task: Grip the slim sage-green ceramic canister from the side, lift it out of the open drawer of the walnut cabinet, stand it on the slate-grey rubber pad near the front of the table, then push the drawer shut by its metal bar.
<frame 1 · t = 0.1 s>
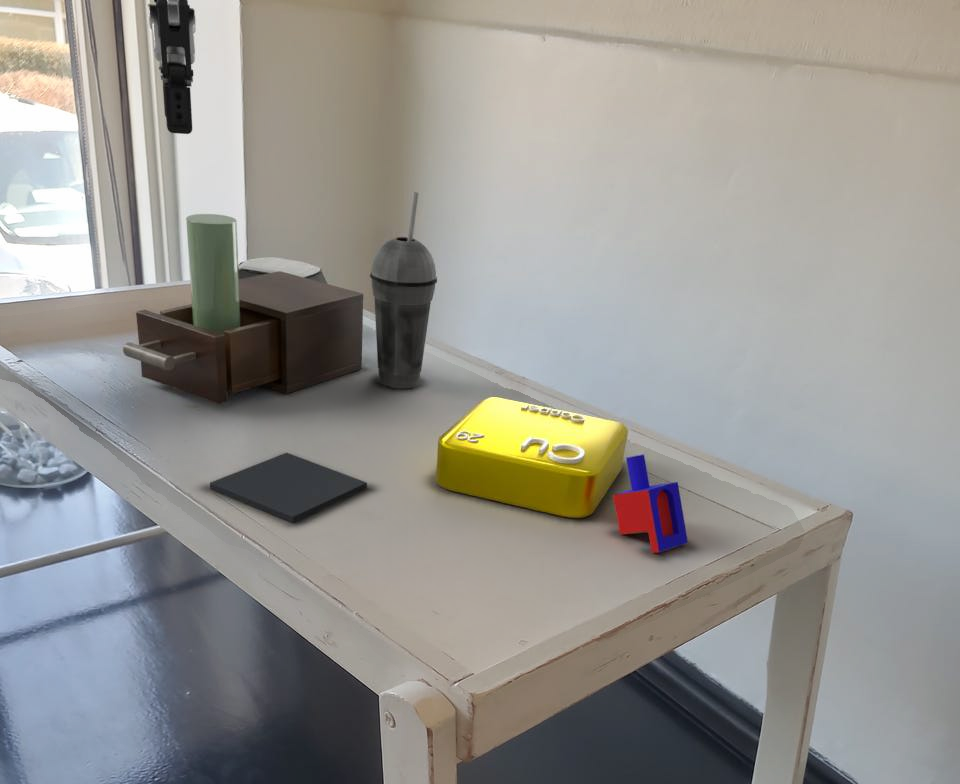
hand: (178, 126, 95), 25 cm above the table, tool pointing down, fingers open, 8 cm apart
toy building block: (645, 538, 87), on the table
beverage cup: (398, 383, 115), on the table
mat: (289, 488, 88), on the table
element tile: (531, 477, 96), on the table
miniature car: (268, 326, 129), on the table
cabinet: (284, 367, 116), on the table
canister: (219, 368, 107), point 2 cm above the table, touching drawer
drawer: (204, 350, 105), point 4 cm above the table, slide at 8.0 cm, touching canister
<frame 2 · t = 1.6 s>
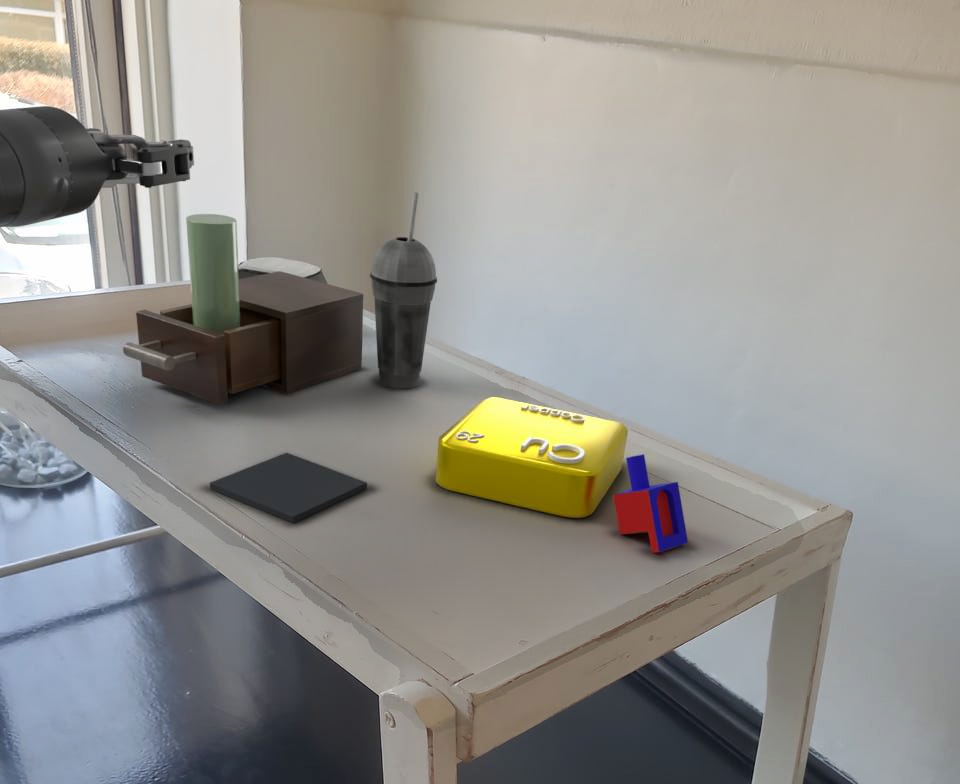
hand: (143, 147, 87), 24 cm above the table, tool horizontal, fingers open, 8 cm apart
nothing on the table moved.
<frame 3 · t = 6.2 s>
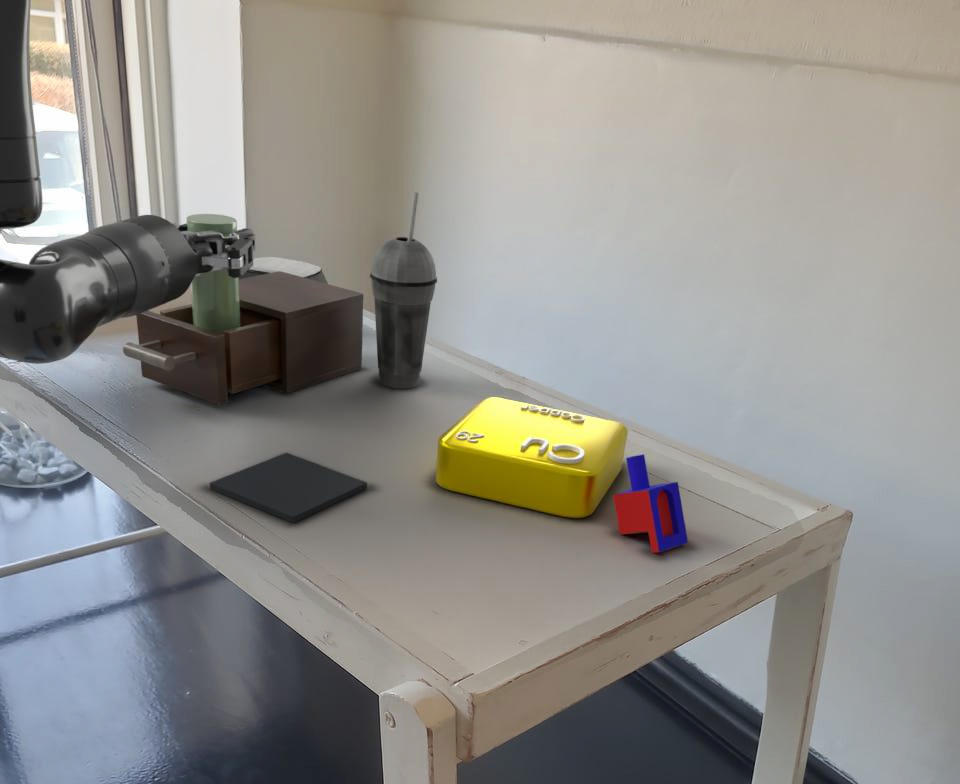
hand: (225, 235, 103), 15 cm above the table, tool horizontal, fingers closed on canister, 5 cm apart
canister: (219, 368, 107), point 2 cm above the table, touching drawer, gripper
everything else where it was.
when the fingers open (14 cm above the table, at t = 14.7 s): canister stays where it is, resting on mat.
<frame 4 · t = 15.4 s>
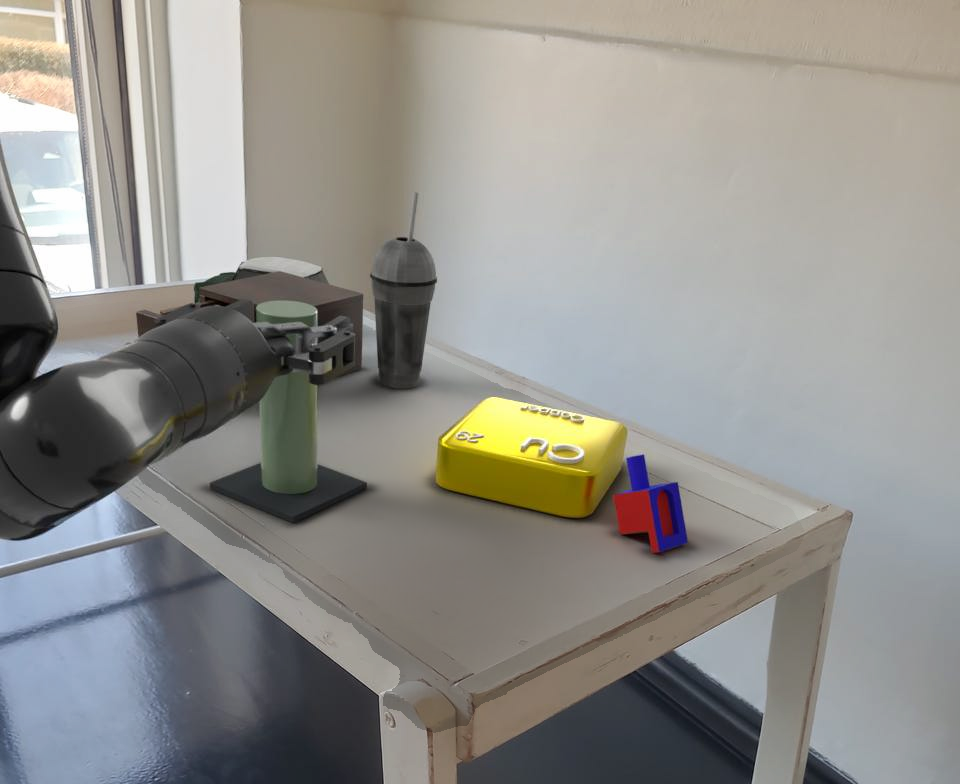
hand: (297, 320, 82), 14 cm above the table, tool horizontal, fingers open, 8 cm apart
canister: (289, 482, 88), point 1 cm above the table, touching mat
drawer: (204, 350, 105), point 4 cm above the table, slide at 8.0 cm
everything else where it was.
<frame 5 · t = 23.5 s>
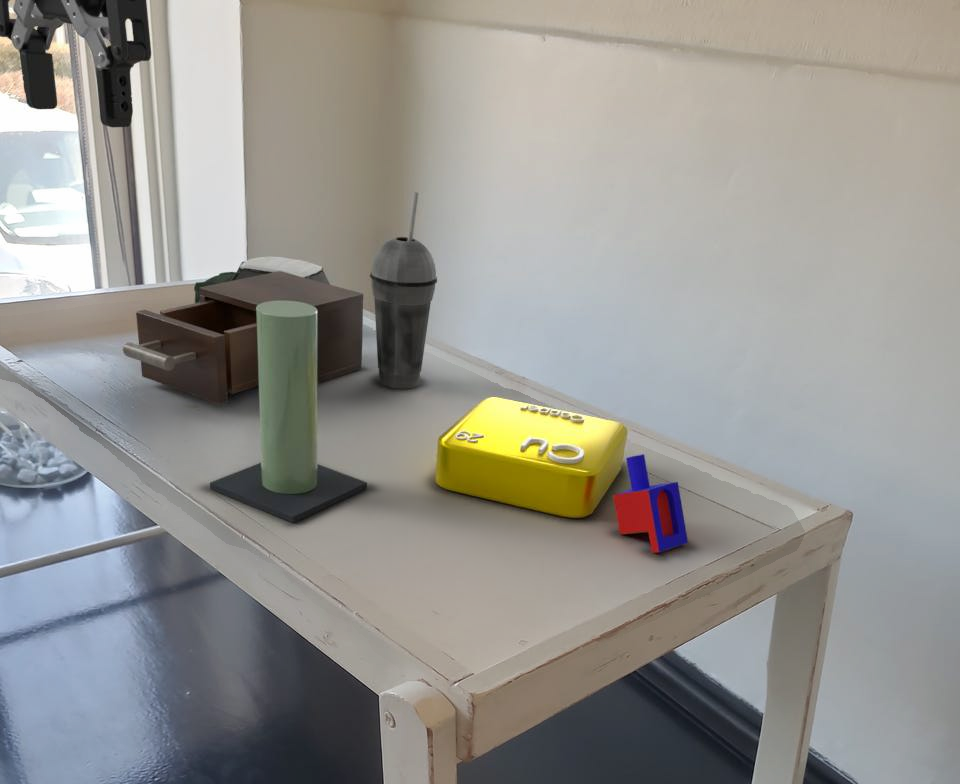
hand: (78, 117, 75), 28 cm above the table, tool pointing down, fingers open, 8 cm apart
nothing on the table moved.
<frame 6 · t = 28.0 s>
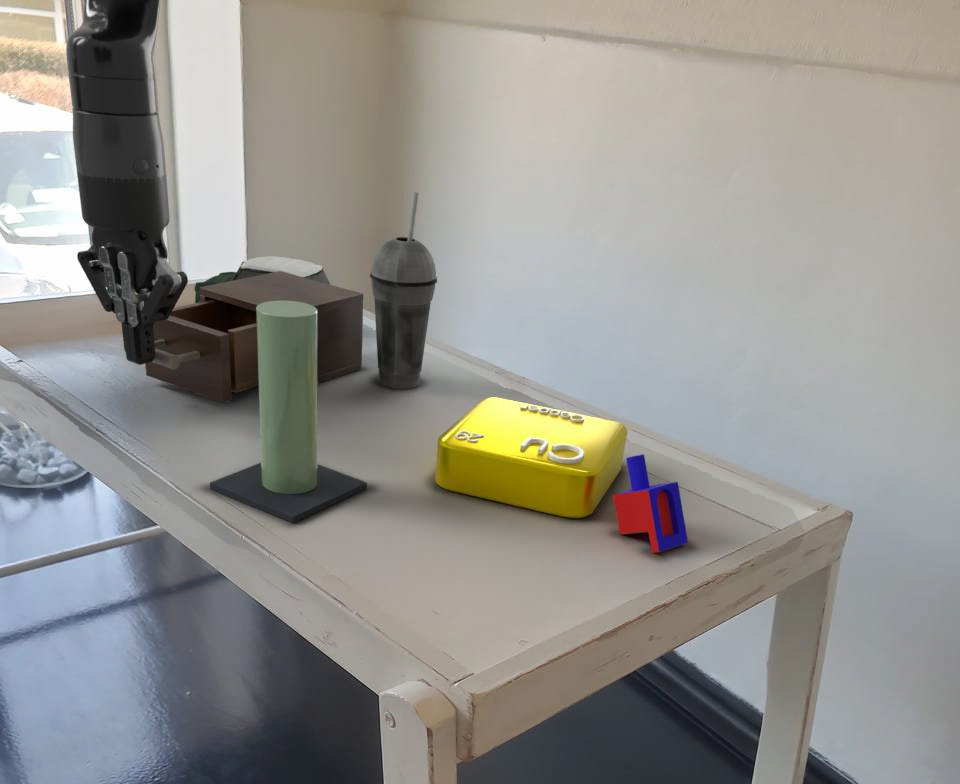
hand: (140, 361, 98), 5 cm above the table, tool pointing down, fingers closed
drawer: (208, 349, 105), point 4 cm above the table, slide at 7.4 cm, touching gripper
everything else where it was.
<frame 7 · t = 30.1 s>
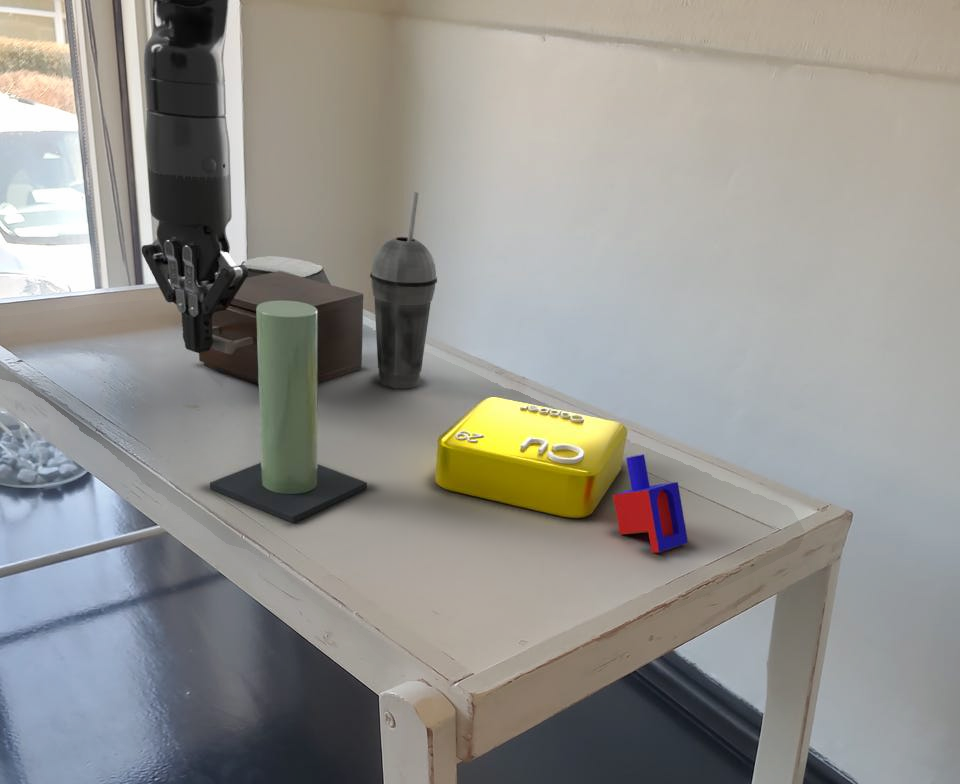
hand: (198, 349, 104), 5 cm above the table, tool pointing down, fingers closed
drawer: (259, 336, 111), point 4 cm above the table, slide at 0.0 cm, touching cabinet, gripper
everything else where it was.
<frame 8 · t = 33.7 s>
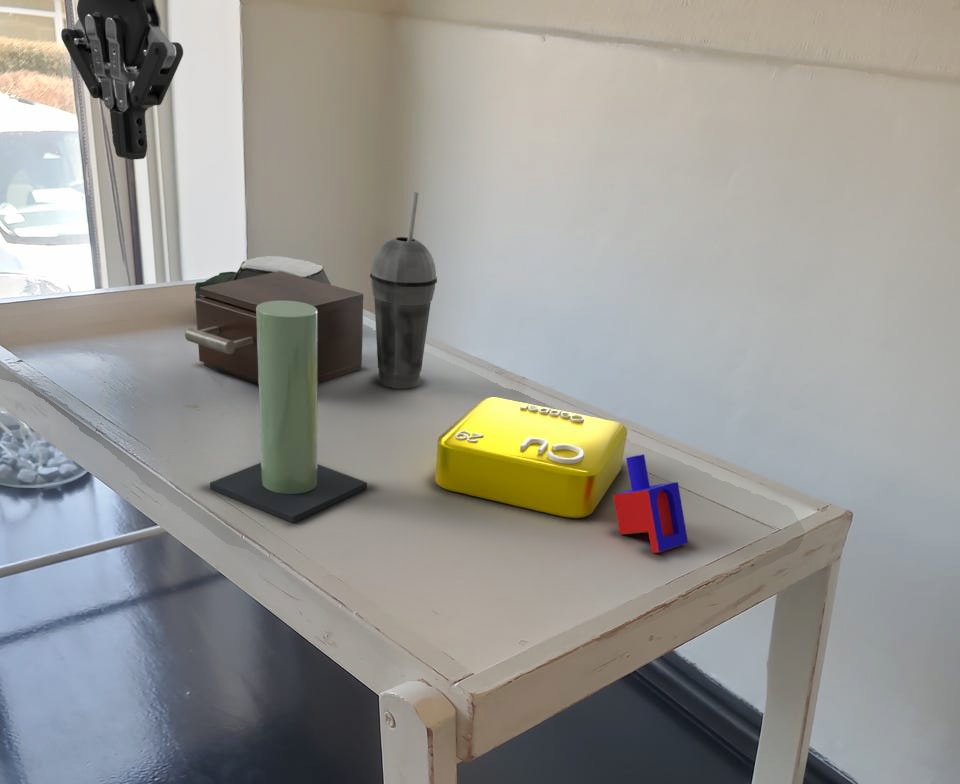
hand: (131, 157, 89), 23 cm above the table, tool pointing down, fingers closed
drawer: (259, 336, 111), point 4 cm above the table, slide at 0.0 cm, touching cabinet
everything else where it was.
at the end: canister inside the target area on the mat (0.1 cm from its centre), point 0.6 cm above the mat's base; canister tilted 0°; drawer slide at 0.0 cm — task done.
